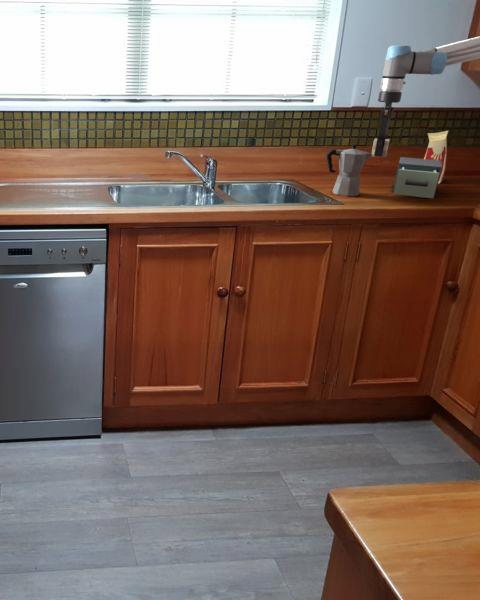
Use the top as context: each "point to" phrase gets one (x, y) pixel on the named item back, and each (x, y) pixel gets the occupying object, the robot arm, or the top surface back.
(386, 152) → the block
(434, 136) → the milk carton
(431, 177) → the bin
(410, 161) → the cabinet
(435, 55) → the robot arm
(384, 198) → the top surface
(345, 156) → the coffeepot
